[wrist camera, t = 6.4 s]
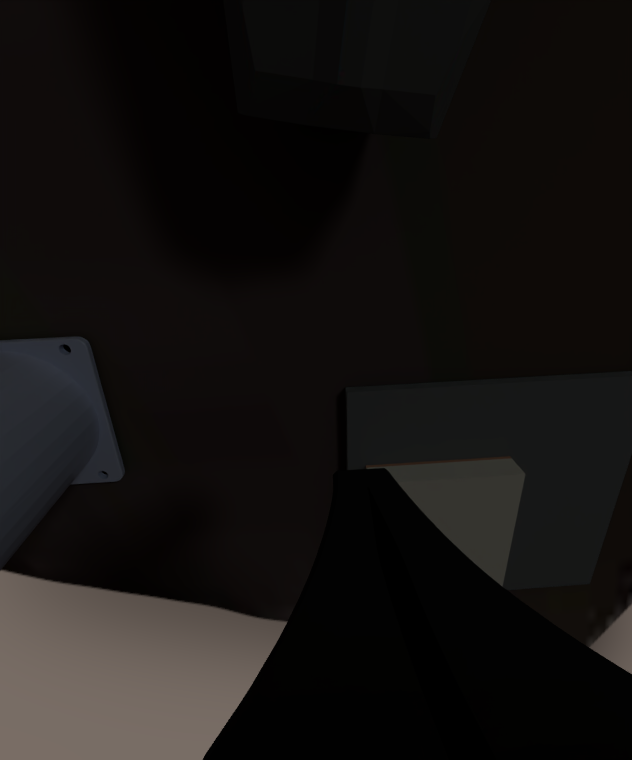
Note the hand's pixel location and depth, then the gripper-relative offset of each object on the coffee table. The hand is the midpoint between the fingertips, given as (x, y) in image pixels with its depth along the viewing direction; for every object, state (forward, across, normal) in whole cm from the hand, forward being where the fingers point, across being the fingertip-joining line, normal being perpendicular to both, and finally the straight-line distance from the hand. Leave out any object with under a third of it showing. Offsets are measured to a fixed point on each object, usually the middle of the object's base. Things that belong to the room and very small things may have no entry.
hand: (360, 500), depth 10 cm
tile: (+9, -6, +6) cm, 12 cm away
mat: (+10, -9, +9) cm, 16 cm away
